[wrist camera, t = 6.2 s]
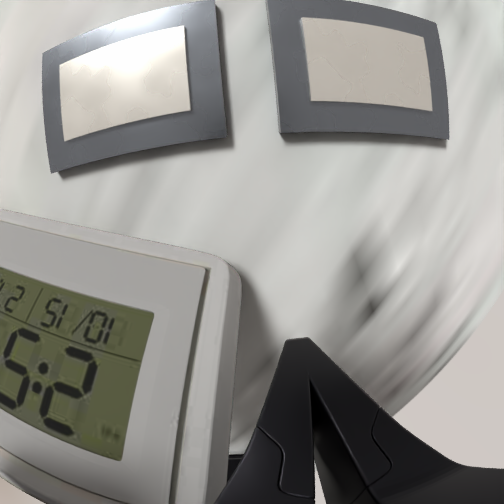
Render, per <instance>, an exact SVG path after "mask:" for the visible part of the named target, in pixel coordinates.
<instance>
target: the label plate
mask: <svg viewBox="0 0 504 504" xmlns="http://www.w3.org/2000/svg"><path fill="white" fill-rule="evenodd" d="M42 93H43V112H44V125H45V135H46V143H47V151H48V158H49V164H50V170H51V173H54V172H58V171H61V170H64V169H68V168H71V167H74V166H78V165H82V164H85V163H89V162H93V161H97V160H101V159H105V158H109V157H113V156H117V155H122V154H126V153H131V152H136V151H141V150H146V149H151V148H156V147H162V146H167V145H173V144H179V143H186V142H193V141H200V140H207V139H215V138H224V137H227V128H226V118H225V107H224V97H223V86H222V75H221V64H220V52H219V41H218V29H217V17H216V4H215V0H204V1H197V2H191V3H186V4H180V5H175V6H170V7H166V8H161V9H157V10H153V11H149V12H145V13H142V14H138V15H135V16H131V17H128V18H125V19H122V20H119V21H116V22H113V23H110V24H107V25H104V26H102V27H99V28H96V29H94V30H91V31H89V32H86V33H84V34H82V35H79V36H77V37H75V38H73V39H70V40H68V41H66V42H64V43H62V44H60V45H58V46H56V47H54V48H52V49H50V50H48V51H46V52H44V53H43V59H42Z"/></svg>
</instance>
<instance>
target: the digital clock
mask: <svg viewBox="0 0 504 504" xmlns="http://www.w3.org/2000/svg"><path fill="white" fill-rule="evenodd" d="M241 298H242V284H241V279H240V275H239V274H238V272H237V271H236V270H235V269H234V268H233V267H232V266H231V265H229V264H228V263H227V262H226V261H224V260H223V259H221V258H220V257H217V256H215V255H212V254H208V253H204V252H200V251H195V250H191V249H187V248H182V247H177V246H173V245H168V244H163V243H159V242H154V241H149V240H144V239H139V238H134V237H130V236H125V235H120V234H115V233H110V232H106V231H101V230H96V229H91V228H87V227H82V226H77V225H73V224H68V223H63V222H59V221H54V220H49V219H45V218H40V217H36V216H31V215H26V214H22V213H17V212H13V211H8V210H4V209H0V477H1V478H3V479H4V480H6V481H7V482H9V483H10V484H12V485H13V486H15V487H17V488H19V489H21V490H22V491H24V492H25V493H27V494H29V495H31V496H32V497H34V498H36V499H38V500H40V501H42V502H44V503H46V504H214V502H215V501H216V499H217V498H218V496H219V495H220V493H221V492H222V490H223V489H224V487H225V486H226V483H227V470H228V457H229V444H230V431H231V418H232V405H233V393H234V381H235V368H236V356H237V344H238V333H239V321H240V309H241Z"/></svg>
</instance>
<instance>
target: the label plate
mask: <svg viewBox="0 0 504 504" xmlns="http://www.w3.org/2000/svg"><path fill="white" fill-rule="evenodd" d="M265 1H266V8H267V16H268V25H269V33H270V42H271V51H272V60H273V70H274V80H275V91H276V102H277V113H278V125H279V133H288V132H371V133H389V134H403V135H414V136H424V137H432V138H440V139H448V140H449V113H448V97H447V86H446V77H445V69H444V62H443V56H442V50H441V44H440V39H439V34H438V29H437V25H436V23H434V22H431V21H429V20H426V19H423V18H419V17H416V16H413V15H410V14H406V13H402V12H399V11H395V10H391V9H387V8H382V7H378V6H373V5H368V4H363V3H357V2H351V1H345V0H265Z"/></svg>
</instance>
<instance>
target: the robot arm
mask: <svg viewBox="0 0 504 504" xmlns="http://www.w3.org/2000/svg"><path fill="white" fill-rule="evenodd" d="M314 460H315V463H316V467H317V471H318V475H319V478H320V482H321V486H322V489H323V493H324V497H325V500H326V504H504V469H496V468H481V467H470V466H465V465H461V464H458V463H456V462H454V461H452V460H450V459H448V458H446V457H445V456H443V455H442V454H441V453H439V452H438V451H436V450H435V449H433V448H432V447H430V446H429V445H427V444H426V443H424V442H423V441H422V440H420V439H419V438H417V437H416V436H414V435H413V434H412V433H410V432H409V431H408V430H406V429H405V428H404V427H402V426H401V425H400V424H399V423H398V422H397V421H396V420H394V419H393V418H392V417H391V416H390V415H389V414H388V413H387V412H386V411H385V410H383V409H382V408H379V405H378V404H377V403H376V402H375V401H374V400H373V399H372V398H371V397H370V396H369V395H368V394H366V393H365V392H364V391H363V390H362V389H361V388H360V387H359V386H358V385H357V384H356V383H355V382H354V381H353V380H352V379H351V378H350V377H349V376H348V375H347V374H346V373H345V372H344V371H343V370H341V369H340V368H339V367H338V366H337V365H336V364H335V363H334V362H333V361H332V360H331V359H330V358H329V357H328V356H327V355H326V354H325V353H324V352H323V351H322V350H321V349H320V348H319V347H318V346H317V345H316V344H315V343H314V342H313V341H312V340H311V339H310V338H308V337H304V338H296V339H287V340H286V341H285V344H284V347H283V350H282V353H281V356H280V359H279V362H278V365H277V368H276V371H275V374H274V377H273V380H272V383H271V386H270V389H269V392H268V395H267V397H266V400H265V403H264V406H263V408H262V411H261V414H260V417H259V419H258V422H257V425H256V428H255V429H254V432H253V435H252V437H251V440H250V442H249V444H248V447H247V449H246V451H245V453H244V455H237V456H229V457H228V470H227V483H226V486H225V487H224V489H223V490H222V492H221V493H220V495H219V496H218V498H217V499H216V501H215V502H214V504H315V500H314V499H315V468H314Z"/></svg>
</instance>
